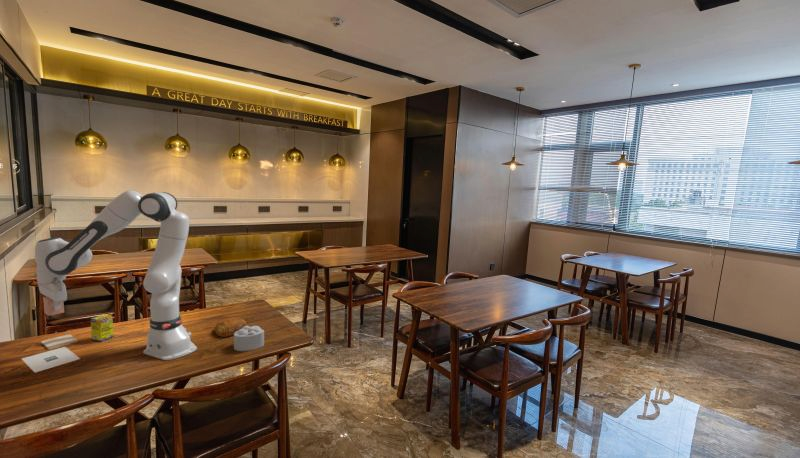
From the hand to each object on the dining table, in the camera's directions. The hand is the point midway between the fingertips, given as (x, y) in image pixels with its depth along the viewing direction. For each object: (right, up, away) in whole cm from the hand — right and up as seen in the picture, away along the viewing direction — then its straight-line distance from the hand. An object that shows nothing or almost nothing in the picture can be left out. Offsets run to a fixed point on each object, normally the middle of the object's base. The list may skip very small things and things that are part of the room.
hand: (54, 307), depth 154 cm
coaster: (-10, -19, +13) cm, 25 cm away
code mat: (0, -22, -2) cm, 22 cm away
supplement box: (+6, -19, +18) cm, 27 cm away
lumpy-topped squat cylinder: (+75, -23, +19) cm, 81 cm away
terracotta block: (0, -2, 0) cm, 2 cm away
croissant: (+59, -20, +34) cm, 71 cm away
